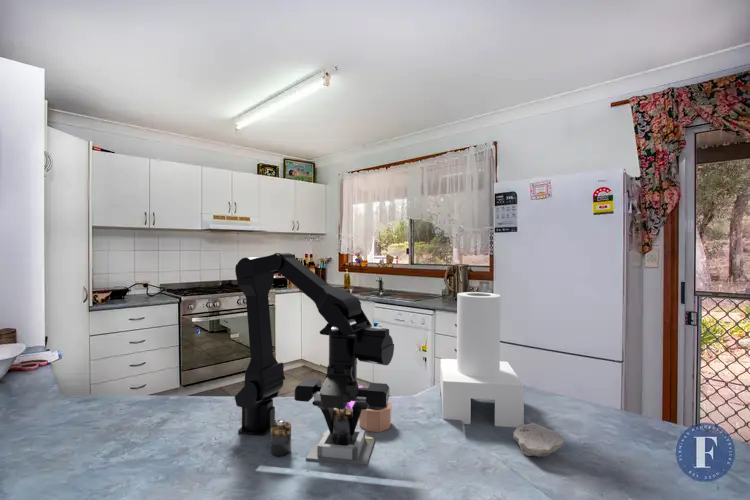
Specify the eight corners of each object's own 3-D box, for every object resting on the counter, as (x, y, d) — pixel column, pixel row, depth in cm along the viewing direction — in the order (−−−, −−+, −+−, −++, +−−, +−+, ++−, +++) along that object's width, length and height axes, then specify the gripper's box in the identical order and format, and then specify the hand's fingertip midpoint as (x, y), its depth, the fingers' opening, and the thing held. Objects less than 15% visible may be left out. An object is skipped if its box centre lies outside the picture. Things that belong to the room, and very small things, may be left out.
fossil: (531, 453, 73) (507, 412, 82) (526, 476, 76) (504, 434, 85) (573, 446, 74) (545, 407, 83) (567, 469, 77) (541, 429, 86)
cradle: (305, 464, 74) (305, 447, 74) (321, 438, 84) (321, 423, 84) (366, 470, 72) (366, 453, 72) (375, 443, 82) (375, 428, 82)
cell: (330, 445, 76) (330, 410, 76) (335, 435, 80) (335, 402, 80) (349, 447, 75) (349, 411, 75) (353, 437, 79) (354, 403, 79)
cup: (357, 433, 86) (358, 409, 86) (363, 419, 93) (363, 397, 93) (388, 436, 85) (388, 412, 85) (392, 422, 92) (392, 399, 92)
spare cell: (267, 460, 75) (267, 424, 75) (275, 449, 79) (275, 415, 79) (286, 462, 74) (286, 426, 74) (293, 451, 78) (294, 417, 78)
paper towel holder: (440, 392, 111) (441, 289, 110) (507, 396, 108) (508, 291, 108) (442, 422, 92) (443, 298, 92) (523, 427, 89) (524, 300, 89)
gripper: (283, 367, 71) (283, 450, 71) (382, 373, 68) (381, 460, 68) (304, 351, 82) (303, 423, 82) (390, 355, 79) (389, 430, 79)
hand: (342, 433), depth 78 cm, fingers closed on cell, 4 cm apart
